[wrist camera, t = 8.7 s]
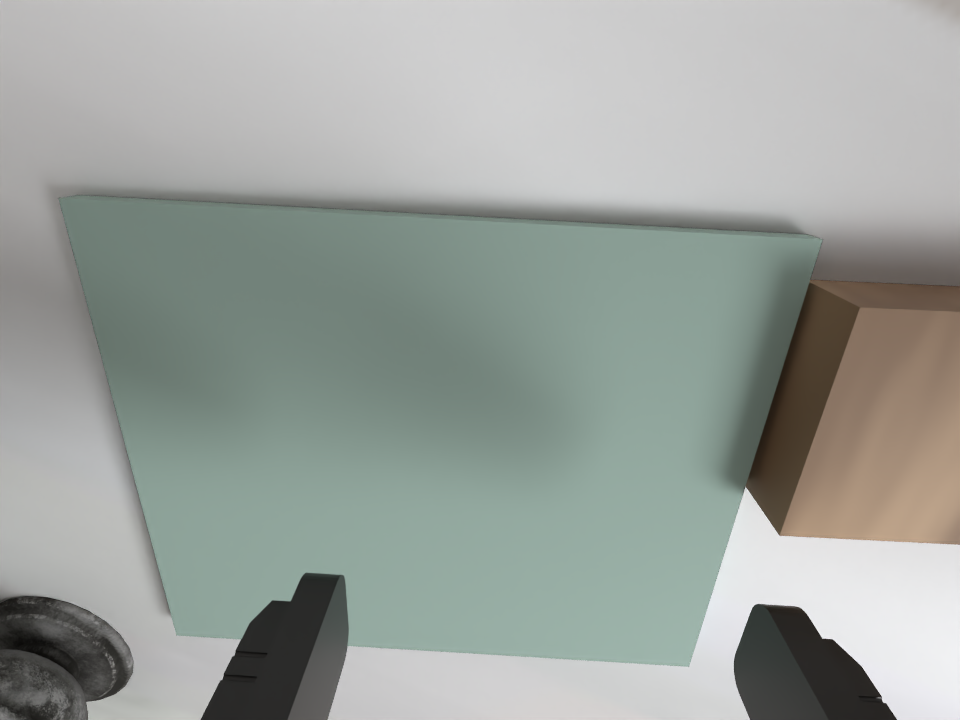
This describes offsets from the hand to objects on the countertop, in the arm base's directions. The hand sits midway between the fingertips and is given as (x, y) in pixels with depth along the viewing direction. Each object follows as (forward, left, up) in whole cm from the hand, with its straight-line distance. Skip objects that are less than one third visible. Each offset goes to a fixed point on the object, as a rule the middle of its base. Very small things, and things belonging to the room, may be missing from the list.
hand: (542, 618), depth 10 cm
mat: (+3, 0, -5) cm, 6 cm away
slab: (-6, -3, -4) cm, 8 cm away
